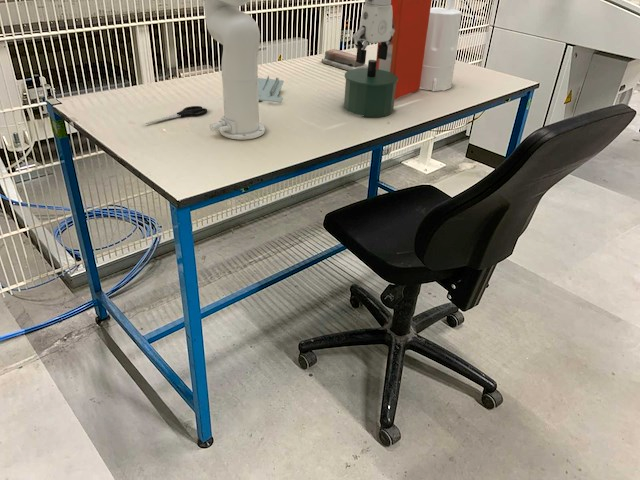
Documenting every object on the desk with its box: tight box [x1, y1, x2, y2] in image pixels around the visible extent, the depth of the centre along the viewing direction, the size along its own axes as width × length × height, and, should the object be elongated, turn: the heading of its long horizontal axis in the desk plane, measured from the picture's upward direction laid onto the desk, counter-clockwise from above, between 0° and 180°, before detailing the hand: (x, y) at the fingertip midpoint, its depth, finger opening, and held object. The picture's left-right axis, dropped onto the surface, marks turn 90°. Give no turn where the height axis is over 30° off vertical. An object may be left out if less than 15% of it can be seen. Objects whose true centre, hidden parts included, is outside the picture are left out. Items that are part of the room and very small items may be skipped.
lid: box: [344, 59, 398, 86], centre depth 160 cm, size 17×17×6 cm
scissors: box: [145, 105, 208, 125], centre depth 154 cm, size 7×1×20 cm
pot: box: [343, 79, 396, 119], centre depth 164 cm, size 16×16×10 cm
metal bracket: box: [258, 75, 285, 103], centre depth 173 cm, size 14×6×15 cm
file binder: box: [376, 0, 433, 100], centre depth 173 cm, size 8×17×32 cm, turn 139°
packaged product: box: [321, 48, 368, 71], centre depth 207 cm, size 18×5×10 cm
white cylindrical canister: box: [419, 0, 462, 92], centre depth 183 cm, size 15×15×33 cm
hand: (371, 60), depth 158 cm, fingers open, 9 cm apart
